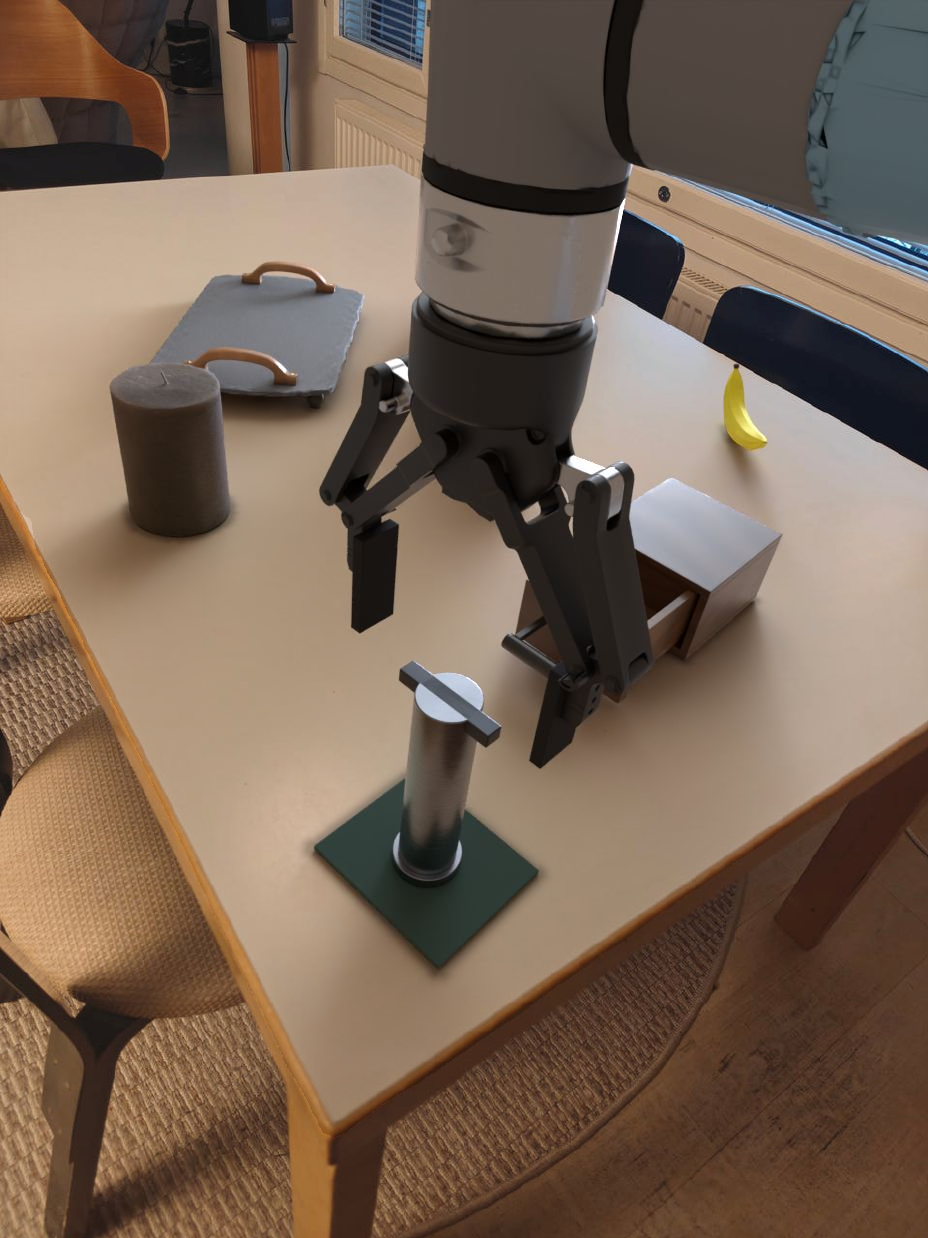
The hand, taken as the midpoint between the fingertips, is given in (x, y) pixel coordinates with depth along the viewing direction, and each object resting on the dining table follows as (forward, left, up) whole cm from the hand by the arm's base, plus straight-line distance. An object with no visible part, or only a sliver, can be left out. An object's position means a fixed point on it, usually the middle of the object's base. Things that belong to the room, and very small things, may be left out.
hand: (455, 682), depth 48 cm
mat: (0, 0, -18) cm, 18 cm away
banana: (+17, -75, -18) cm, 79 cm away
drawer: (+5, -26, -17) cm, 31 cm away
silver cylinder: (0, 0, -17) cm, 17 cm away
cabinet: (+5, -39, -18) cm, 43 cm away
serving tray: (+72, -42, -18) cm, 85 cm away
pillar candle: (+46, -11, -18) cm, 51 cm away
